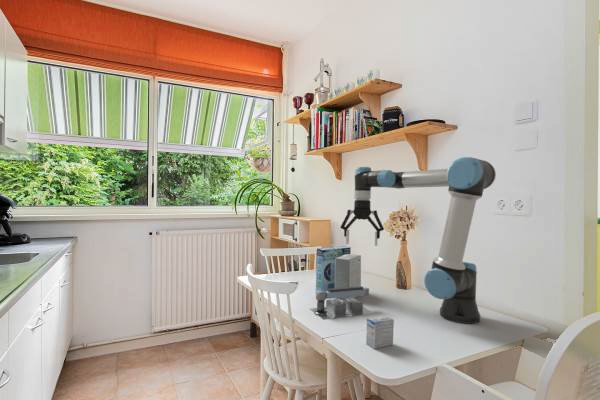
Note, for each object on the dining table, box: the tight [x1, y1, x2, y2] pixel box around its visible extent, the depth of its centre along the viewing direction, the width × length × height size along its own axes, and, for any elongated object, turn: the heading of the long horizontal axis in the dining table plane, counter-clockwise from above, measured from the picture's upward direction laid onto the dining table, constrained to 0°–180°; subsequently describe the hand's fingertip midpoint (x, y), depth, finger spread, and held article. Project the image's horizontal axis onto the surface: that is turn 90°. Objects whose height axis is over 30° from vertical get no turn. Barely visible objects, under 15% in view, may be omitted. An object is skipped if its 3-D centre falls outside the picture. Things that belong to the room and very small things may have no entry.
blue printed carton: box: [315, 245, 352, 292], centre depth 179 cm, size 20×5×23 cm, turn 126°
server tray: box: [309, 300, 377, 320], centre depth 148 cm, size 14×25×6 cm, turn 112°
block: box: [342, 297, 364, 314], centre depth 149 cm, size 8×5×4 cm, turn 22°
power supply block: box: [325, 298, 346, 315], centre depth 147 cm, size 8×5×4 cm, turn 22°
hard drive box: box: [335, 253, 362, 301], centre depth 171 cm, size 16×8×20 cm, turn 149°
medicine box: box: [365, 315, 395, 350], centre depth 115 cm, size 8×4×9 cm, turn 118°
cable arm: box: [315, 285, 370, 301], centre depth 148 cm, size 25×4×4 cm, turn 112°
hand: (361, 244), depth 167 cm, fingers open, 13 cm apart
